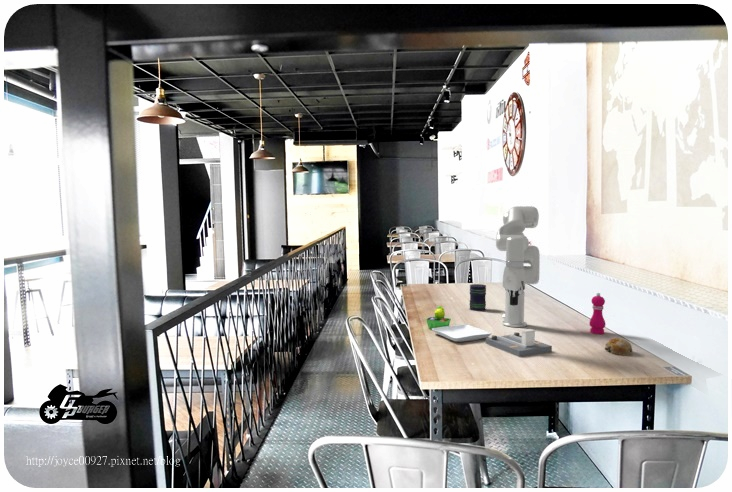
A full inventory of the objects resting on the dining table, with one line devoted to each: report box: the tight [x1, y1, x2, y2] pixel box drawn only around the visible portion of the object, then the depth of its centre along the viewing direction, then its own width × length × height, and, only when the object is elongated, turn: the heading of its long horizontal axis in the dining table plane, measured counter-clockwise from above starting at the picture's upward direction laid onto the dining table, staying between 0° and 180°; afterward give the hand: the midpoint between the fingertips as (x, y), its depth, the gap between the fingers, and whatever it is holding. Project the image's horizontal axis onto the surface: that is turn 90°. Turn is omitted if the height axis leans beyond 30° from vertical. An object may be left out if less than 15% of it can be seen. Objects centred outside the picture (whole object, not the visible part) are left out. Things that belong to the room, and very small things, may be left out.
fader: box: [520, 328, 536, 346], centre depth 207 cm, size 3×5×7 cm, turn 114°
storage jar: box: [469, 283, 487, 312], centre depth 296 cm, size 10×10×15 cm
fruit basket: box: [425, 305, 451, 330], centre depth 248 cm, size 11×9×11 cm
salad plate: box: [431, 324, 492, 343], centre depth 232 cm, size 21×21×3 cm
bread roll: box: [604, 337, 633, 356], centre depth 206 cm, size 10×10×8 cm
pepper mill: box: [588, 292, 606, 335], centre depth 239 cm, size 7×7×20 cm
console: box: [485, 331, 553, 358], centre depth 213 cm, size 22×18×4 cm
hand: (513, 304), depth 216 cm, fingers closed
